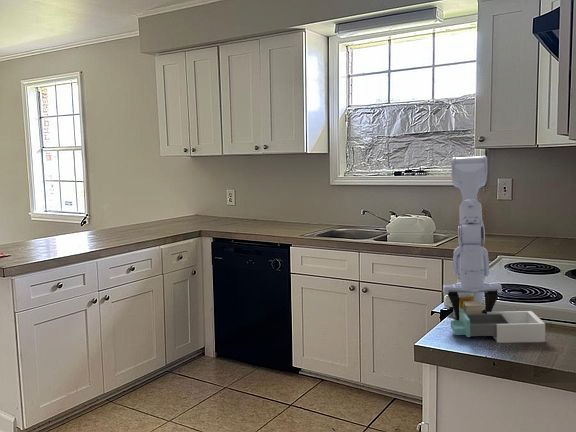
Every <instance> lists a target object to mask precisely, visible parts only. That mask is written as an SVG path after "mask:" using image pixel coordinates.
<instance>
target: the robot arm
mask: <svg viewBox="0 0 576 432" xmlns="http://www.w3.org/2000/svg"><path fill="white" fill-rule="evenodd" d="M450 160H451V177H452V178H451V179H452V180H451V181H452V184H453V187H455V188H457V189H459V190H460V194H461V198H462V199H461V203H460V204H459V208H458V209H459V210H458V212H459V225H458V227H457V239H458V240H457V243H458V246H457V247H455V249H454V250H453V257H452V267H453V268H452V270H453V271H452V272H453V273H452V274H453V275H454V276H455V277H457V282H456V283H458V282H461V283H460V284H456V283H454V284H443V285H442V293H443V294H444V295H447V296H448V299H449V302H450V303H451V305H452V308H453V309H454V312H455V318H454V319H455V321H459V301H460V298H459V296H458V294H457V293H473V294H474V301H479V302H480V304H481V303H482V301H483V300H484V304H485V311H483V310H484V309H482V312H484V314H487V312H493V308H494V307H495V304H496V302H497V300H498V299H499V294H501V293H502V290H503V289H502V287H503V286H502V285H501V284H500V283H490V282H489V283H486V282H485V279H486V278H487V277H488V276H489V275H490V257H489V251H488V249H486V248H485V247H484V246H485V243H486V231H485V229H486V228H485V225H484V220H483V208H482V207H483V206H482V203H481V202H480V201H478V193H479V190H480V188H482V187H484V186H486V183H487V181H488V177H487V176H488V157H487V156H486V155H481V156H459V157H456V156H453V157H451V159H450Z"/></svg>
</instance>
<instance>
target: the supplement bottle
mask: <svg viewBox="0 0 576 432" xmlns="http://www.w3.org/2000/svg"><path fill="white" fill-rule="evenodd" d="M460 283H461V282H458V283H457V282H456V283H455V284H460ZM457 294H458V296H459V298H460V301H459V309H463V301H474V294H473V293H457ZM452 316H453V318H454V319H456V318H455V312H454V309H453V315H452Z"/></svg>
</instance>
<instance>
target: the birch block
mask: <svg viewBox="0 0 576 432" xmlns="http://www.w3.org/2000/svg"><path fill="white" fill-rule="evenodd" d="M463 310H464V312H465V313H466V315H473V314H483V311H482V305H481V304H480V302H479V301H463Z"/></svg>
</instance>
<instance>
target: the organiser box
mask: <svg viewBox="0 0 576 432" xmlns="http://www.w3.org/2000/svg"><path fill="white" fill-rule="evenodd" d="M487 314H503V316H504V317H505V318H506V319H507V320H508V321H509V322H510V324H497V336H492V337H493V339H494V340H495V342H497V344H498V343H499V344H500V343H507V344H508V343H546V322H544V321H543V320H542V319H541V318H539V316H538V315H537V314H535V313H534V311H532V310H521V311H519V310H518V311H517V310H514V311H513V310H510V311H492V312H487Z"/></svg>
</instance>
